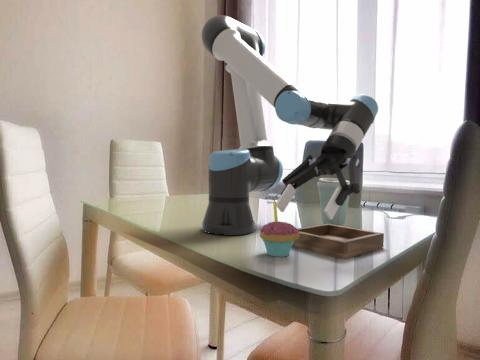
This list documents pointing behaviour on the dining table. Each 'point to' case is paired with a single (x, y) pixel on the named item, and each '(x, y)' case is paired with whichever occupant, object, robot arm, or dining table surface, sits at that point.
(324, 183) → the disposable coffee cup
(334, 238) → the wooden tray
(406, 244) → the dining table surface
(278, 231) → the cupcake
